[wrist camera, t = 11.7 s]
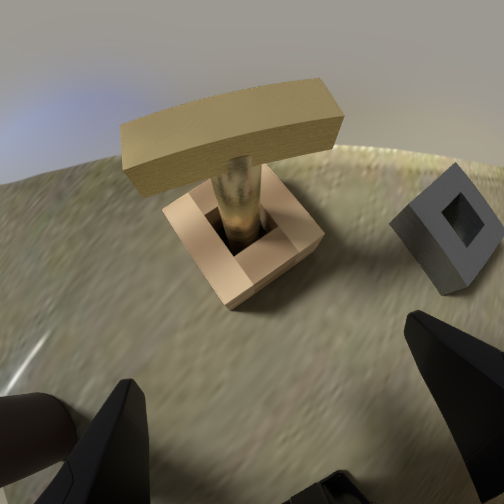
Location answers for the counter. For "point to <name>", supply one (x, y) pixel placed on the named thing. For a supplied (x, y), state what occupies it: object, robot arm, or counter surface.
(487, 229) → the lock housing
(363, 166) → the counter surface
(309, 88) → the T-key
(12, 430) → the bottle
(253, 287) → the tan square ring block
